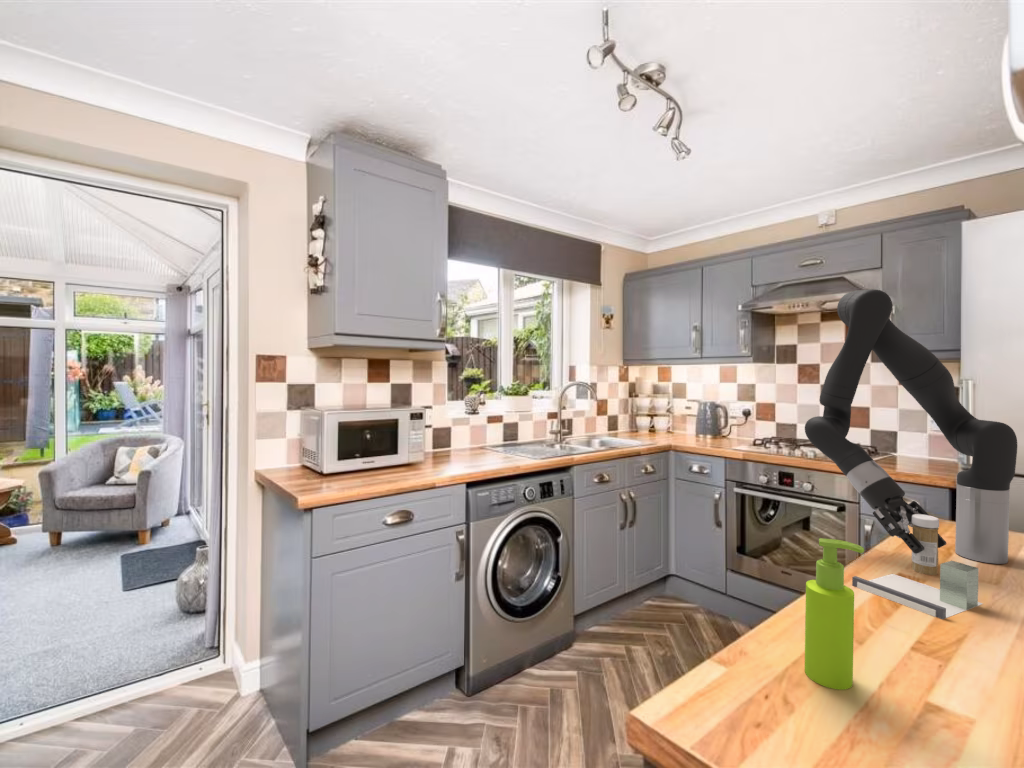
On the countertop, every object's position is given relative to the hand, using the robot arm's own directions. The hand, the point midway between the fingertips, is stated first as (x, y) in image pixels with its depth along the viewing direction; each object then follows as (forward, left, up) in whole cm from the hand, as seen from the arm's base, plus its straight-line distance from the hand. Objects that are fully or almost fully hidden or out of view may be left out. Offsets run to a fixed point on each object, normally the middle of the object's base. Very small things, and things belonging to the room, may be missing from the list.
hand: (931, 548), depth 105 cm
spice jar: (0, -1, -7) cm, 7 cm away
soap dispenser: (+54, +13, -7) cm, 56 cm away
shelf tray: (+15, +4, -7) cm, 17 cm away
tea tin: (+12, +10, -5) cm, 16 cm away
